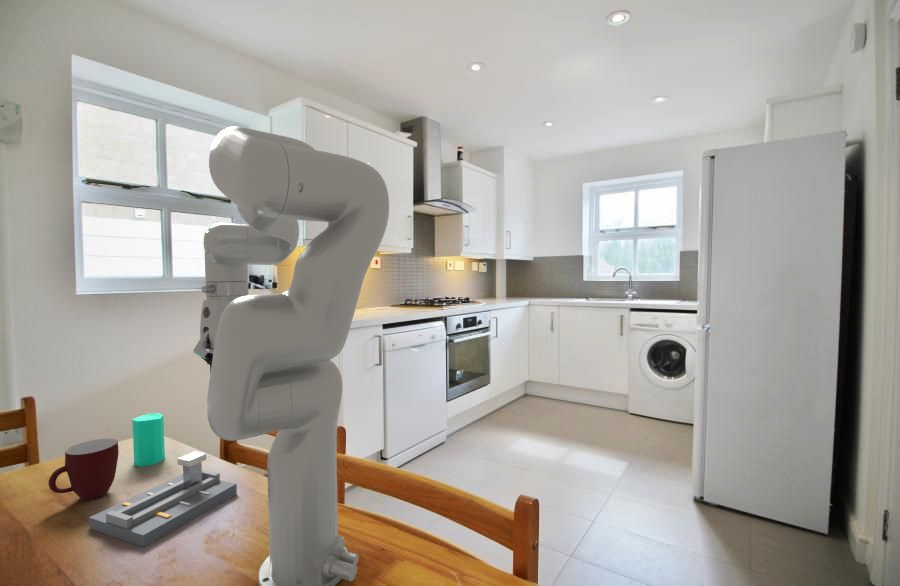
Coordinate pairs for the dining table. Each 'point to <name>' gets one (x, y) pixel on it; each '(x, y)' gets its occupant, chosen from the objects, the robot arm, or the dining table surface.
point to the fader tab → (192, 468)
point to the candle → (148, 439)
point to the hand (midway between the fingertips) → (230, 380)
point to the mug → (89, 468)
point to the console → (162, 509)
